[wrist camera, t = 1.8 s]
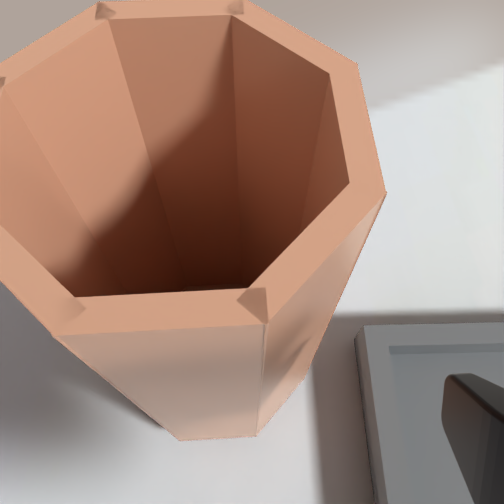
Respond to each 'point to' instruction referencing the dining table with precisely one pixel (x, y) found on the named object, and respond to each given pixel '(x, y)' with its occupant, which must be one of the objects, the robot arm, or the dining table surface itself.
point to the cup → (185, 201)
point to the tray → (419, 403)
